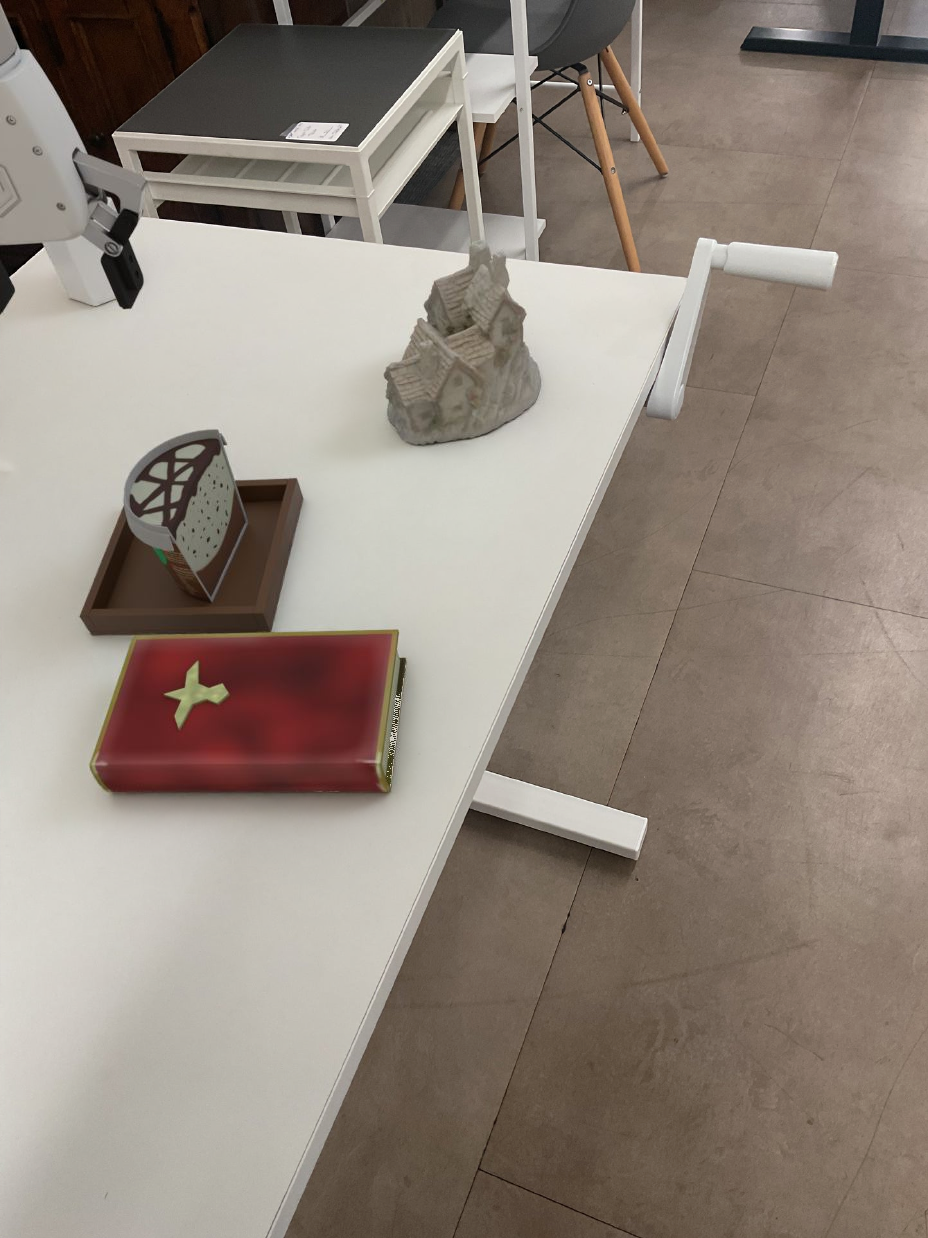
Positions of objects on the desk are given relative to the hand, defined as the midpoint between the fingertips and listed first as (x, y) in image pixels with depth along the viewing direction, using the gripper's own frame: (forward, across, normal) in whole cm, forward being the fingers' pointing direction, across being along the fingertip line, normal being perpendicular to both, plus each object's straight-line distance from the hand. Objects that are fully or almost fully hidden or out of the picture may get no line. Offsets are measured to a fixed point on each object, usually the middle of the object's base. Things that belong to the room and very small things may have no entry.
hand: (67, 300), depth 71 cm
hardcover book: (+24, +12, -20) cm, 34 cm away
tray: (+24, +3, -3) cm, 25 cm away
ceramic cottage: (+25, +24, +20) cm, 40 cm away
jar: (+25, -20, +42) cm, 53 cm away
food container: (+24, +3, -3) cm, 25 cm away
